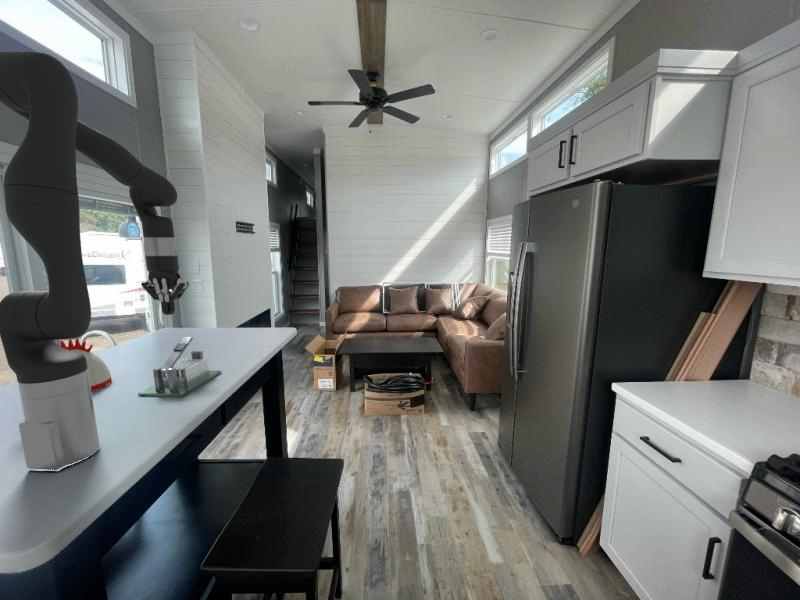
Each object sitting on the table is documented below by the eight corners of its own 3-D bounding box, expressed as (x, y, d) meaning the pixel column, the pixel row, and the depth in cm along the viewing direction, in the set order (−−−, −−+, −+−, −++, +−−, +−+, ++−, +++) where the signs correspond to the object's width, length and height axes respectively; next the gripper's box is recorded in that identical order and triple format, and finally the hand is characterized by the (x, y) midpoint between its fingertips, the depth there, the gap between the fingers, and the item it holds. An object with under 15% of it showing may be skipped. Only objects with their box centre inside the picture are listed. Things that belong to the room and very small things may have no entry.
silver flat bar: (169, 373, 93) (166, 370, 92) (159, 373, 93) (157, 370, 92) (193, 338, 103) (191, 336, 102) (185, 338, 103) (183, 335, 102)
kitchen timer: (60, 383, 101) (52, 336, 99) (117, 375, 107) (111, 331, 105) (37, 401, 89) (27, 348, 87) (103, 391, 95) (95, 341, 93)
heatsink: (182, 396, 91) (179, 370, 90) (138, 395, 92) (134, 369, 91) (221, 372, 109) (219, 350, 108) (183, 372, 110) (181, 349, 109)
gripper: (127, 254, 88) (136, 316, 92) (174, 254, 88) (181, 317, 91) (149, 253, 96) (157, 311, 99) (193, 253, 95) (199, 311, 98)
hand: (169, 314), depth 95 cm, fingers closed
